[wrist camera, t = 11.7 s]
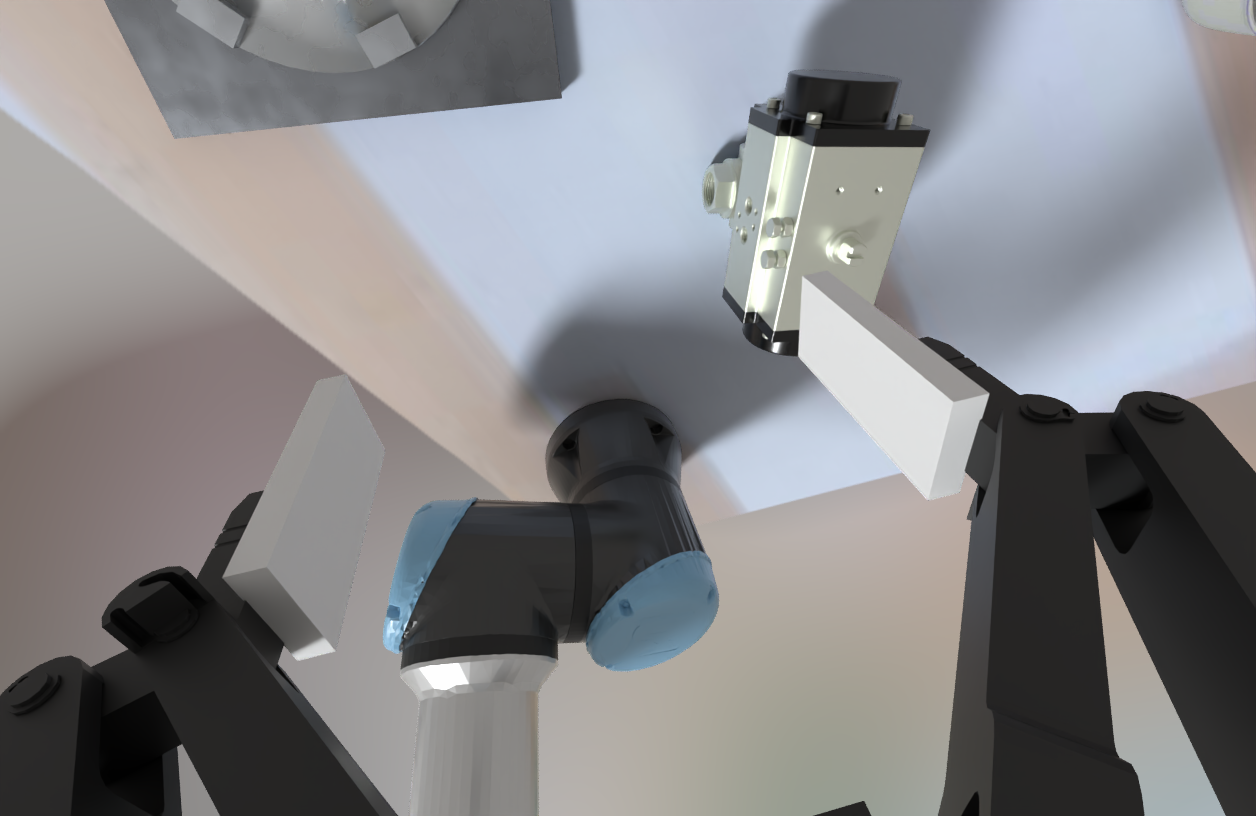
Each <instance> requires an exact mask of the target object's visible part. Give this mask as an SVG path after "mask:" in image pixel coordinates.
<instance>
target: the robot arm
mask: <svg viewBox="0 0 1256 816" xmlns="http://www.w3.org/2000/svg"><path fill="white" fill-rule="evenodd" d="M798 357H799V358H800V359H801V360H802V361H803V362H804V364H805V365H806V366H807V367H808V368H809V369H810V370H811V371H812V372H813V374H814V375H815V376H816V377H817V378H818V379H819V380H820V381H821V382H822V384H823V385H824V386H825V387H826V388H827V389H828V390H829V391H830V392H831V394H832V395H833V396H834V397H835V398H836V399H837V400H838V401H839V402H840V404H841V405H842V406H843V407H844V408H845V409H846V410H847V411H848V412H849V414H850V415H851V416H852V417H853V418H854V419H855V420H856V421H857V422H858V424H859V425H860V426H861V427H862V428H863V429H864V430H865V431H866V432H867V434H868V435H869V436H870V437H871V438H872V439H873V440H874V441H875V442H876V444H877V445H878V446H879V447H880V448H881V449H882V450H883V451H884V452H885V454H886V455H887V456H888V457H889V458H890V459H891V460H892V461H893V462H894V464H895V465H896V466H897V467H898V468H899V469H900V470H901V471H902V472H903V474H904V475H905V476H906V477H907V478H908V479H909V480H910V481H911V482H912V484H913V485H914V486H915V487H916V488H917V489H918V490H919V491H920V492H921V494H922V495H923V496H924V497H925V498H926V499H927V500H928V501H929V500H933V499H937V498H941V497H945V496H948V495H952V494H956V493H960V489H961V486H962V482H963V479H964V476H965V473H967V474H968V475H969V476H970V477H971V478H972V479H973V480H975V482H976V483H977V484H978V486H977V489H976V492H975V495H974V498H973V501H972V504H971V507H970V510H969V513H968V516H967V519H968V520H971V521H972V522H971V532H970V542H969V552H968V562H967V572H966V582H965V593H964V602H963V613H962V622H961V632H960V642H959V652H958V662H957V671H956V681H955V682H956V683H955V692H954V702H953V711H952V721H951V732H950V741H949V751H948V761H947V772H946V780H945V787H944V793H943V797H942V801H941V805H940V809H939V813H938V816H1144V808H1143V800H1142V793H1141V789H1140V784H1139V780H1138V776H1137V774H1136V772H1135V770H1134V768H1133V766H1132V764H1130V763H1128V762H1126V761H1125V760H1123V759H1121V758H1119V756H1118V754H1117V752H1116V748H1115V743H1114V735H1113V725H1112V715H1111V706H1110V696H1109V686H1108V676H1107V667H1106V657H1105V646H1104V637H1103V626H1102V617H1101V607H1100V597H1099V588H1098V577H1097V567H1096V558H1095V548H1094V539H1095V541H1096V543H1097V545H1098V547H1099V549H1100V552H1101V554H1102V556H1103V558H1104V560H1105V562H1106V564H1107V566H1108V568H1109V570H1110V573H1111V575H1112V577H1113V579H1114V581H1115V583H1116V585H1117V587H1118V589H1119V592H1120V594H1121V596H1122V598H1123V600H1124V602H1125V604H1126V606H1127V608H1128V610H1129V613H1130V615H1131V617H1132V619H1133V621H1134V623H1135V625H1136V627H1137V629H1138V631H1139V634H1140V636H1141V638H1142V640H1143V642H1144V644H1145V646H1146V648H1147V650H1148V653H1149V655H1150V657H1151V659H1152V661H1153V663H1154V665H1155V667H1156V670H1157V672H1158V674H1159V676H1160V678H1161V680H1162V682H1163V684H1164V686H1165V688H1166V691H1167V693H1168V695H1169V697H1170V699H1171V701H1172V703H1173V705H1174V707H1175V709H1176V712H1177V714H1178V716H1179V718H1180V720H1181V722H1182V724H1183V726H1184V729H1185V731H1186V733H1187V735H1188V737H1189V739H1190V741H1191V743H1192V745H1193V747H1194V749H1195V751H1196V754H1197V756H1198V758H1199V760H1200V762H1201V764H1202V766H1203V769H1204V771H1205V773H1206V775H1207V777H1208V779H1209V781H1210V783H1211V785H1212V788H1213V790H1214V792H1215V794H1216V795H1217V798H1218V800H1219V802H1220V804H1221V806H1222V809H1223V811H1224V813H1225V815H1226V816H1256V473H1255V471H1254V470H1253V469H1252V468H1251V467H1250V465H1249V464H1248V463H1247V462H1246V461H1245V459H1244V458H1243V457H1242V456H1241V455H1240V454H1239V453H1238V451H1237V450H1236V449H1235V448H1234V447H1233V445H1232V444H1231V443H1230V442H1229V441H1228V440H1227V438H1226V437H1225V436H1224V435H1223V434H1222V433H1221V431H1220V430H1219V429H1218V428H1217V427H1216V425H1215V424H1214V423H1213V422H1212V421H1211V420H1210V418H1209V417H1208V416H1207V415H1206V414H1205V413H1204V412H1203V411H1202V410H1201V409H1200V408H1198V407H1197V406H1196V405H1195V404H1193V403H1190V402H1188V401H1186V400H1184V399H1182V398H1180V397H1177V396H1174V395H1170V394H1167V393H1162V392H1151V391H1141V392H1132V393H1129V394H1127V395H1124V396H1123V397H1122V399H1121V400H1120V401H1119V403H1118V405H1117V408H1116V410H1115V412H1114V413H1078V411H1076V410H1075V409H1074V408H1073V407H1071V406H1070V405H1069V404H1067V403H1065V402H1062V401H1060V400H1058V399H1056V398H1052V397H1048V396H1044V395H1035V394H1024V395H1019V394H1017V393H1016V392H1014V391H1013V390H1012V389H1010V388H1009V387H1007V386H1006V385H1005V384H1003V383H1002V382H1000V381H999V380H998V379H996V378H995V377H993V376H992V375H991V374H989V373H988V372H986V371H985V370H984V369H982V368H981V367H977V366H976V364H975V363H974V362H973V361H971V360H970V359H968V358H964V355H963V354H961V353H960V352H959V351H957V350H956V349H954V348H953V347H952V346H950V345H949V344H946V343H943V342H941V341H938V340H935V339H933V338H930V337H925V338H921V339H917V338H916V337H914V336H913V335H912V334H910V333H909V332H908V331H906V330H905V329H904V328H902V327H901V326H900V325H899V324H897V323H896V322H895V321H893V320H892V319H891V318H889V317H888V316H887V315H885V314H884V313H883V312H881V311H880V310H879V309H877V308H876V307H875V306H873V305H872V304H871V303H869V302H868V301H867V300H866V299H864V298H863V297H862V296H860V295H859V294H858V293H856V292H855V291H854V290H852V289H851V288H850V287H848V286H847V285H846V284H844V283H843V282H842V281H840V280H839V279H838V278H836V277H835V276H834V275H833V274H831V273H830V272H829V271H822V272H818V273H813V274H809V275H804V276H802V292H801V311H800V330H799V349H798ZM384 454H385V449H384V447H383V445H382V443H381V441H380V439H379V437H378V435H377V433H376V432H375V429H374V427H373V425H372V424H371V422H370V420H369V418H368V416H367V414H366V412H365V410H364V408H363V406H362V404H361V402H360V400H359V399H358V397H357V395H356V393H355V391H354V389H353V387H352V385H351V383H350V381H349V379H348V377H347V375H346V374H345V375H340V376H336V377H331V378H326V379H322V380H317V382H316V384H315V387H314V388H313V391H312V393H311V395H310V397H309V399H308V401H307V403H306V405H305V407H304V409H303V411H302V414H301V415H300V417H299V419H298V422H297V424H296V426H295V428H294V430H293V432H292V434H291V436H290V438H289V440H288V442H287V444H286V446H285V449H284V451H283V453H282V455H281V457H280V459H279V461H278V463H277V465H276V467H275V469H274V471H273V473H272V476H271V478H270V480H269V482H268V484H267V486H266V488H265V490H264V491H259V492H255V493H251V494H249V495H248V496H247V497H246V498H245V499H244V500H243V501H242V502H241V503H240V504H239V505H238V506H237V507H236V508H235V509H234V510H233V511H232V512H231V514H230V516H229V518H228V520H227V522H226V524H225V526H224V528H223V530H222V531H223V533H221V534H220V535H219V537H218V539H217V541H216V543H215V548H214V549H212V551H211V553H210V554H209V556H208V558H207V560H206V562H205V564H204V566H203V567H202V569H201V571H200V573H199V575H198V577H197V579H196V578H195V577H194V576H193V575H192V574H191V573H190V572H189V571H188V570H186V569H184V568H183V567H181V566H177V567H165V568H163V569H159V570H156V571H153V572H151V573H149V574H147V575H145V576H143V577H141V578H139V579H137V580H136V581H134V582H133V583H132V584H130V585H129V586H128V587H126V588H125V589H124V590H122V591H121V592H120V593H119V594H118V595H117V596H116V597H115V598H114V599H113V600H112V601H111V603H110V604H109V605H108V607H107V609H106V610H105V612H104V614H103V616H102V628H104V629H105V630H106V631H107V632H109V633H110V634H111V635H112V636H113V637H115V638H116V639H117V640H118V641H119V642H121V643H122V644H123V645H124V646H126V647H127V648H128V650H126V651H124V652H122V653H120V654H118V655H116V656H113V657H111V658H109V659H107V660H105V661H103V662H101V663H99V664H97V665H95V666H92V667H90V666H89V665H87V664H86V663H85V662H83V661H82V660H81V659H79V658H76V657H73V656H65V657H58V658H55V659H53V660H50V661H48V662H46V663H43V664H41V665H39V666H37V667H36V668H34V669H32V670H31V671H29V672H28V673H26V674H24V675H23V676H21V677H20V678H19V679H17V680H16V681H15V682H14V683H12V684H11V685H10V686H9V687H8V688H7V689H6V690H5V691H4V692H3V693H2V694H1V696H0V816H182V810H181V796H180V780H179V766H178V751H177V746H179V745H181V744H183V746H184V748H185V750H186V752H187V754H188V756H189V758H190V760H191V761H192V763H193V765H194V767H195V769H196V771H197V773H198V775H199V777H200V778H201V780H202V782H203V784H204V786H205V788H206V790H207V792H208V794H209V795H210V797H211V799H212V801H213V803H214V805H215V807H216V809H217V811H218V813H219V814H220V816H398V815H397V814H396V813H395V811H394V810H393V809H392V808H391V806H390V805H389V804H388V802H387V801H386V800H385V799H384V797H383V796H382V795H381V794H380V792H379V791H378V790H377V788H376V787H375V786H374V785H373V783H372V782H371V781H370V779H369V778H368V777H367V776H366V774H365V773H364V772H363V771H362V769H361V768H360V767H359V766H358V764H357V763H356V762H355V761H354V759H353V758H352V757H351V755H350V754H349V753H348V751H347V750H346V749H345V748H344V746H343V745H342V744H341V743H340V741H339V740H338V739H337V737H336V736H335V735H334V734H333V732H332V731H331V730H330V729H329V727H328V726H327V725H326V723H325V722H324V721H323V720H322V718H321V717H320V716H319V715H318V713H317V712H316V711H315V710H314V708H313V707H312V706H311V704H310V703H309V702H308V700H307V699H306V698H305V697H304V696H303V694H302V693H301V692H300V690H299V689H298V688H297V686H296V685H295V684H294V683H293V681H292V680H291V679H290V678H289V676H288V675H287V674H286V672H285V671H284V670H283V669H282V668H281V667H280V666H279V665H278V660H279V658H280V655H281V652H282V649H283V646H285V647H286V648H287V649H288V650H289V652H290V653H291V654H292V655H293V656H294V657H295V658H296V659H297V660H298V661H299V660H303V659H307V658H311V657H315V656H319V655H323V654H327V653H331V652H335V651H336V648H337V644H338V640H339V636H340V632H341V627H342V624H343V619H344V616H345V611H346V608H347V604H348V599H349V596H350V592H351V588H352V583H353V579H354V575H355V571H356V567H357V563H358V559H359V555H360V551H361V547H362V543H363V538H364V535H365V531H366V526H367V523H368V519H369V515H370V511H371V506H372V503H373V499H374V495H375V491H376V487H377V482H378V478H379V474H380V470H381V466H382V462H383V458H384ZM545 459H546V470H547V477H548V481H549V484H550V486H551V488H552V490H553V492H554V494H555V495H556V497H557V498H558V500H559V501H560V502H526V501H503V500H479V499H478V498H475V497H474V498H471V499H469V500H438V501H432V502H429V503H427V504H425V505H423V506H422V507H421V508H420V509H419V510H418V511H417V512H416V513H415V515H414V516H413V518H412V520H411V522H410V525H409V527H408V529H407V532H406V535H405V538H404V542H403V544H402V547H401V551H400V554H399V558H398V562H397V565H396V569H395V573H394V577H393V581H392V586H391V590H390V595H389V606H388V609H387V615H386V618H385V622H384V630H383V643H384V646H385V647H386V648H387V650H391V651H393V652H394V653H400V652H403V654H402V662H401V671H400V677H401V678H402V679H403V680H404V681H405V683H406V684H407V685H408V686H409V687H410V688H411V689H412V691H413V692H414V693H415V694H416V696H417V698H418V700H419V711H418V722H417V732H416V742H415V754H414V763H413V774H412V785H411V795H410V805H409V816H539V780H538V779H539V772H538V771H539V767H538V765H539V763H538V760H539V758H538V757H539V755H538V693H539V691H540V689H541V687H542V685H543V684H544V683H545V681H546V680H547V679H548V678H549V676H550V675H551V674H552V673H553V672H554V670H555V669H556V668H557V667H558V644H559V643H582V642H583V643H586V646H587V651H588V652H589V654H590V655H591V657H592V659H593V660H594V661H595V662H596V664H598V665H600V666H601V667H604V666H605V667H606V668H607V669H609V670H612V671H634V670H640V669H644V668H648V667H652V666H655V665H658V664H660V663H663V662H665V661H667V660H669V659H671V658H673V657H675V656H677V655H679V654H680V653H682V652H683V651H684V650H686V649H688V648H689V647H691V646H692V645H693V644H694V643H696V642H697V641H698V640H699V639H700V638H701V637H702V636H703V635H704V634H705V632H706V631H707V630H708V629H709V627H710V626H711V624H712V623H713V621H714V619H715V617H716V614H717V611H718V606H719V594H718V589H717V586H716V582H715V578H714V575H713V571H712V564H711V560H710V558H709V557H708V556H707V554H706V553H705V550H704V547H703V545H702V542H701V539H700V537H699V534H698V532H697V529H696V527H695V524H694V522H693V519H692V517H691V514H690V512H689V509H688V506H687V504H686V501H685V499H684V496H683V494H682V491H681V489H680V482H681V464H682V450H681V445H680V441H679V439H678V436H677V434H676V431H675V429H674V427H673V425H672V423H671V422H670V420H669V419H668V418H667V417H666V416H665V415H664V414H663V413H662V412H660V411H659V410H658V409H656V408H654V407H652V406H650V405H648V404H645V403H642V402H638V401H633V400H608V401H603V402H599V403H595V404H592V405H589V406H587V407H585V408H583V409H581V410H579V411H577V412H575V413H574V414H572V415H571V416H569V417H568V418H567V419H566V420H565V421H564V422H562V423H561V424H560V426H559V427H558V428H557V429H556V430H555V432H554V433H553V435H552V437H551V438H550V441H549V443H548V446H547V450H546V458H545ZM1093 537H1094V538H1093ZM815 816H871V814H870V812H869V810H868V808H867V806H866V804H865V802H864V801H862V802H858V803H855V804H852V805H848V806H845V807H842V808H838V809H835V810H831V811H828V812H825V813H821V814H818V815H815Z"/></svg>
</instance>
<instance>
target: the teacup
mask: <svg viewBox="0 0 1256 816" xmlns="http://www.w3.org/2000/svg"><path fill="white" fill-rule="evenodd" d="M1182 5H1183V8H1184V10H1185V12H1186V13H1187V15H1188V17H1189V18H1190V19H1192V20H1193V21H1194V22H1195V23H1197V24H1199V25H1201V26H1204V27H1207V28H1210V29H1214V30H1219V31H1224V32H1231V33H1237V34H1245V35H1253V36H1256V0H1182Z"/></svg>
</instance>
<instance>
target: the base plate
mask: <svg viewBox="0 0 1256 816" xmlns="http://www.w3.org/2000/svg"><path fill="white" fill-rule="evenodd" d="M104 1H105V3H106V5H107V7H108V9H109V11H110V13H111V15H112V17H113V19H114V20H115V22H116V24H117V26H118V28H119V30H120V32H121V34H122V36H123V38H124V40H125V42H126V44H127V46H128V48H129V50H130V52H131V54H132V56H133V58H134V60H135V62H136V64H137V66H138V68H139V70H140V72H141V74H142V76H143V78H144V80H145V82H146V84H147V85H148V87H149V89H150V91H151V93H152V95H153V97H154V99H155V101H156V103H157V105H158V107H159V109H160V111H161V113H162V115H163V117H164V119H165V121H166V123H167V125H168V127H169V129H170V131H171V133H172V135H173V137H174V139H177V138H186V137H196V136H205V135H215V134H224V133H234V132H244V131H253V130H263V129H272V128H282V127H292V126H301V125H311V124H320V123H330V122H339V121H349V120H359V119H368V118H378V117H387V116H397V115H407V114H416V113H426V112H435V111H445V110H455V109H464V108H474V107H483V106H493V105H502V104H512V103H522V102H531V101H541V100H550V99H560V98H562V95H561V87H560V79H559V70H558V62H557V54H556V46H555V37H554V29H553V21H552V13H551V4H550V0H459V2H458V3H457V5H456V6H455V8H454V10H453V11H452V13H451V15H450V16H449V17H448V18H447V20H446V21H445V22H444V23H443V24H442V26H441V27H440V28H439V29H438V30H437V32H435V33H434V34H433V35H432V36H431V37H430V38H429V39H427V40H426V41H425V42H424V43H423V44H422V45H420V46H418V47H417V48H415V49H414V50H412V51H410V52H409V53H407V54H405V55H404V56H402V57H401V58H399V59H397V60H394V61H392V62H389V63H387V64H384V65H382V66H380V67H377V68H371V69H367V70H363V71H358V72H345V73H326V72H312V71H307V70H302V69H297V68H292V67H288V66H285V65H282V64H279V63H276V62H273V61H270V60H267V59H263V58H261V57H259V56H257V55H255V54H253V53H250V52H248V51H246V50H244V49H242V48H234V49H233V48H231V47H230V46H228V45H227V44H225V43H224V42H222V41H221V40H219V39H218V38H216V37H214V36H213V35H211V34H210V33H208V32H207V31H205V30H204V29H202V28H201V27H199V26H198V25H196V24H195V23H193V22H191V21H190V20H188V19H187V18H185V17H184V16H182V15H181V14H179V13H178V12H176V10H177V7H178V5H177V4H175V3H174V2H173V1H172V0H104Z"/></svg>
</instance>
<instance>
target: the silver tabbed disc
mask: <svg viewBox="0 0 1256 816" xmlns="http://www.w3.org/2000/svg"><path fill="white" fill-rule="evenodd" d="M172 1H173V2H174V3H175V4H177V5H178V7H177V10H176V12H178V13H179V14H181V15H182V16H184V17H185V18H187V19H188V20H190V21H191V22H193V23H195V24H196V25H198V26H199V27H201V28H202V29H204V30H205V31H207V32H208V33H210V34H211V35H213V36H214V37H216V38H218V39H219V40H221V41H222V42H224V43H225V44H227V45H228V46H230V47H231V48H233V49H234V48H242V49H244V50H246V51H248V52H250V53H253V54H255V55H257V56H259V57H261V58H263V59H267V60H270V61H273V62H276V63H279V64H282V65H285V66H288V67H292V68H297V69H302V70H307V71H312V72H326V73H345V72H358V71H363V70H367V69H371V68H377V67H380V66H382V65H384V64H387V63H389V62H392V61H394V60H397V59H399V58H401V57H402V56H404V55H405V54H407V53H409V52H410V51H412V50H414V49H415V48H417V47H418V46H420V45H422V44H423V43H424V42H425V41H426V40H427V39H429V38H430V37H431V36H432V35H433V34H434V33H435V32H437V30H438V29H439V28H440V27H441V26H442V24H443V23H444V22H445V21H446V20H447V18H448V17H449V16H450V15H451V13H452V11H453V10H454V8H455V6H456V5H457V3H458V2H459V0H172Z"/></svg>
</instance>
